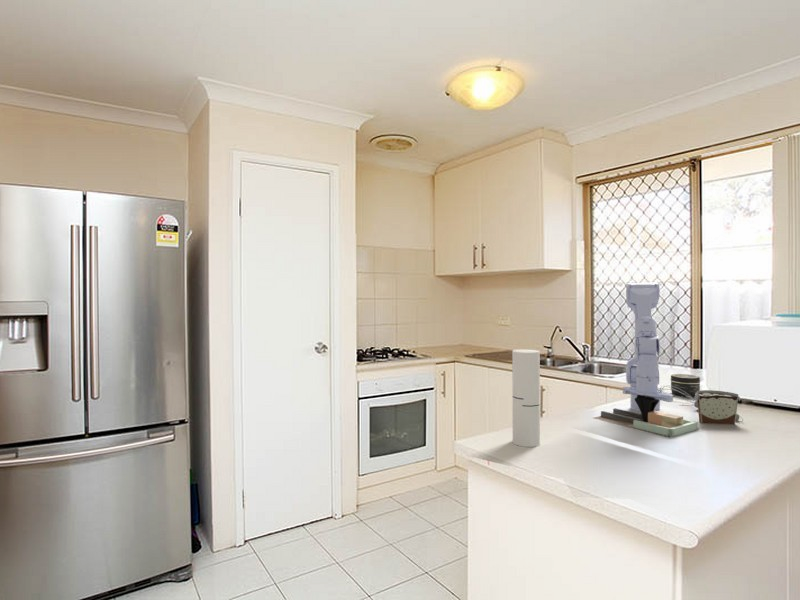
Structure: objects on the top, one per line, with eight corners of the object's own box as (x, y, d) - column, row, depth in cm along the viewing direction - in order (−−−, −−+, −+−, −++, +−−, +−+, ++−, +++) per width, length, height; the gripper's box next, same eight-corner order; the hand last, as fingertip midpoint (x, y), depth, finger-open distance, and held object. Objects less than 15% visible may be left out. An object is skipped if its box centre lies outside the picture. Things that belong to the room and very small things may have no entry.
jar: (705, 395, 183) (705, 376, 183) (691, 398, 178) (691, 378, 178) (679, 391, 191) (679, 372, 191) (665, 394, 186) (665, 375, 186)
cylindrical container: (519, 437, 131) (519, 348, 130) (544, 442, 126) (543, 350, 126) (508, 443, 125) (507, 351, 125) (533, 448, 121) (533, 353, 120)
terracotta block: (655, 423, 140) (655, 410, 140) (668, 427, 136) (668, 413, 136) (647, 425, 138) (647, 412, 138) (661, 429, 134) (661, 415, 134)
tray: (659, 420, 144) (659, 413, 144) (697, 428, 134) (697, 422, 134) (633, 427, 136) (633, 420, 136) (671, 436, 127) (671, 429, 127)
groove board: (622, 414, 155) (622, 406, 155) (699, 431, 135) (699, 423, 135) (592, 421, 147) (592, 413, 147) (669, 441, 126) (669, 432, 126)
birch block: (669, 426, 136) (669, 413, 136) (683, 430, 133) (683, 416, 133) (661, 429, 134) (661, 415, 134) (675, 432, 131) (675, 418, 131)
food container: (727, 421, 145) (727, 390, 145) (740, 427, 139) (740, 394, 139) (686, 421, 146) (686, 389, 146) (696, 426, 140) (696, 393, 140)
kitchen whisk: (735, 424, 143) (735, 403, 143) (653, 400, 176) (653, 384, 176) (751, 422, 145) (751, 402, 145) (666, 400, 178) (666, 383, 178)
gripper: (616, 374, 144) (616, 417, 144) (663, 381, 132) (663, 429, 132) (630, 372, 148) (630, 414, 148) (677, 379, 135) (677, 425, 135)
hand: (646, 421), depth 140 cm, fingers closed
